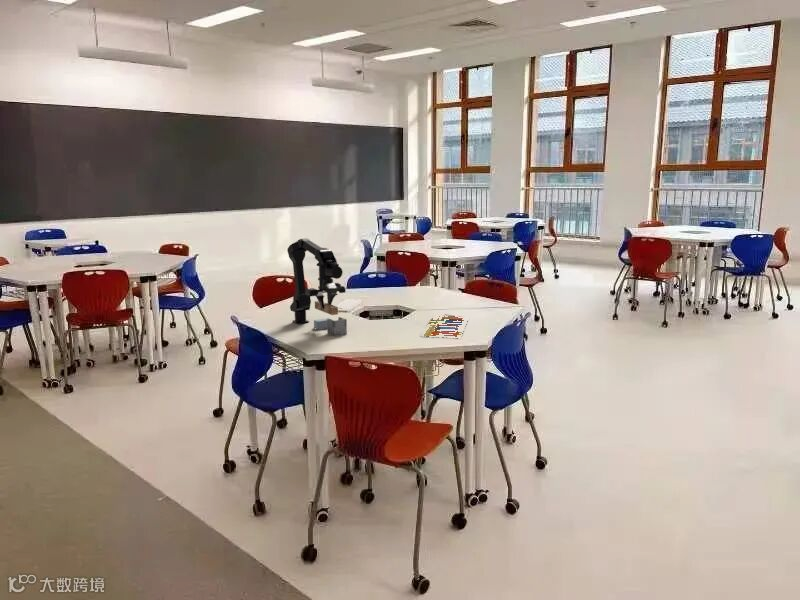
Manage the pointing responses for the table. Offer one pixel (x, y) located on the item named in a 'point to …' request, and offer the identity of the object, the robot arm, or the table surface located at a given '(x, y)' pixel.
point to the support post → (320, 323)
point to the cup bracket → (337, 326)
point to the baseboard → (348, 305)
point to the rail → (327, 308)
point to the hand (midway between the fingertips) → (326, 308)
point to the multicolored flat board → (451, 319)
